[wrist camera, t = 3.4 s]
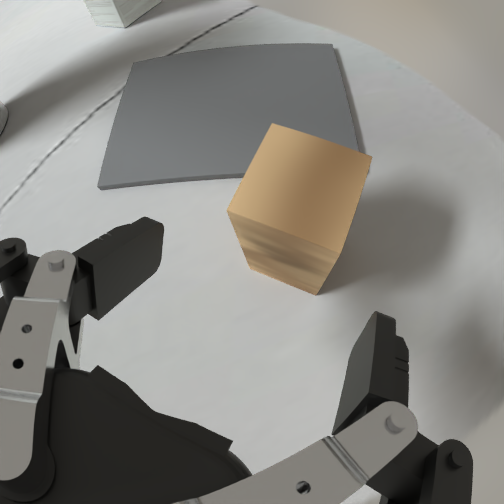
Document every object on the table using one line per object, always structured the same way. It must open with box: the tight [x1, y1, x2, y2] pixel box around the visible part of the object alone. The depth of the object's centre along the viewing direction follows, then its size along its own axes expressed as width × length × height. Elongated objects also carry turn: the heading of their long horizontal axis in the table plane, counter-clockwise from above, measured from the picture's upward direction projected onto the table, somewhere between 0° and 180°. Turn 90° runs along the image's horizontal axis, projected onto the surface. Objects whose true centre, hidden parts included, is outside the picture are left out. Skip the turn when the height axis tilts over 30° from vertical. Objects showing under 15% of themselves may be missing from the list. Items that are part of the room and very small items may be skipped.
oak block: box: [227, 123, 372, 295], centre depth 17 cm, size 4×4×9 cm
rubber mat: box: [97, 44, 359, 190], centre depth 25 cm, size 20×15×1 cm
